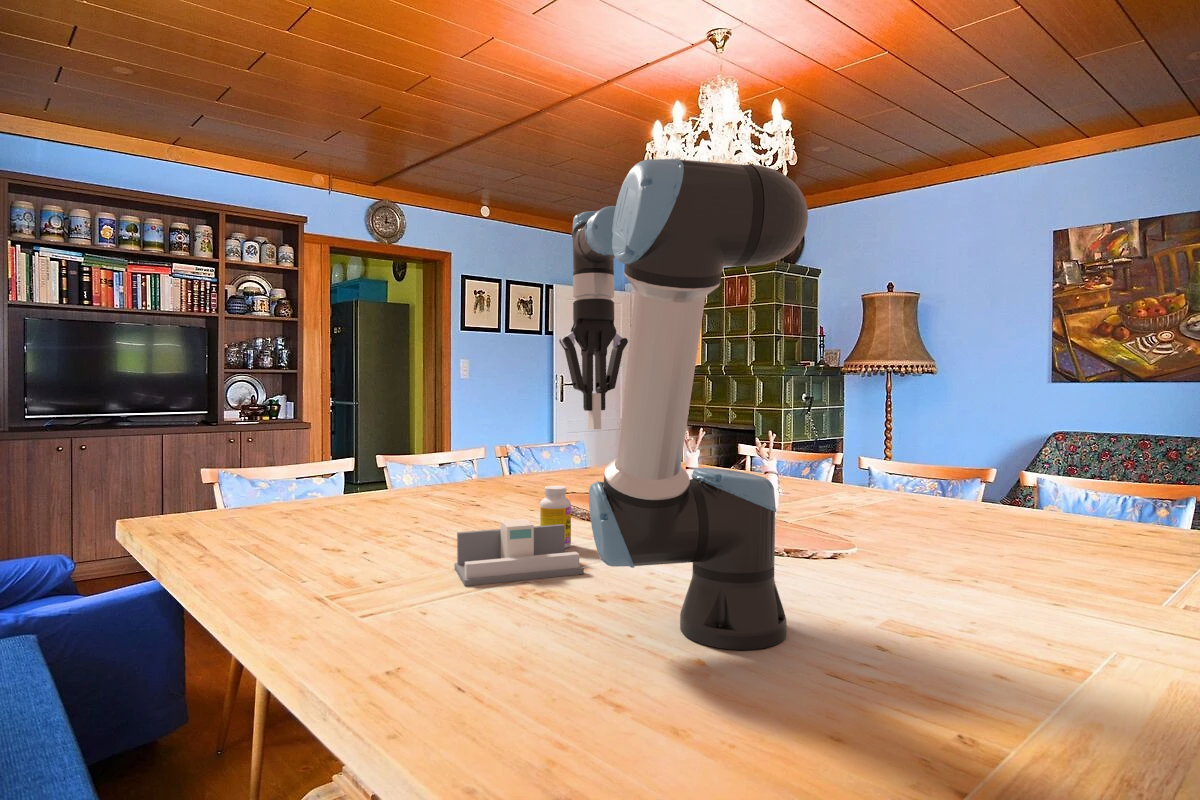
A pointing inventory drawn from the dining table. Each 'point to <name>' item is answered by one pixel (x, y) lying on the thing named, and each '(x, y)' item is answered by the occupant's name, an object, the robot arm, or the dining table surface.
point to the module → (517, 538)
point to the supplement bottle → (556, 510)
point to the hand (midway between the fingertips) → (594, 428)
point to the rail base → (493, 551)
